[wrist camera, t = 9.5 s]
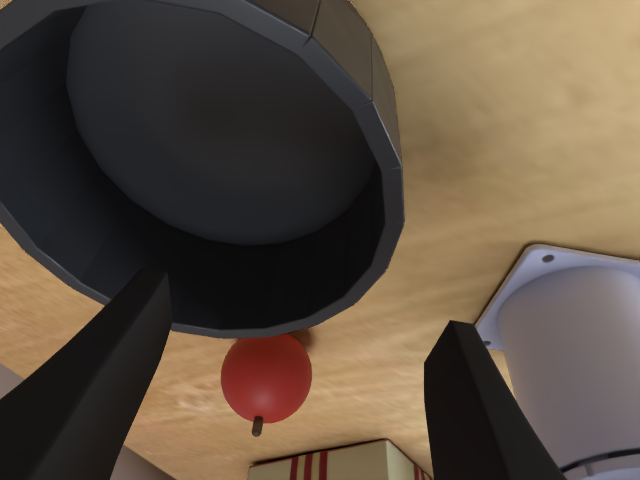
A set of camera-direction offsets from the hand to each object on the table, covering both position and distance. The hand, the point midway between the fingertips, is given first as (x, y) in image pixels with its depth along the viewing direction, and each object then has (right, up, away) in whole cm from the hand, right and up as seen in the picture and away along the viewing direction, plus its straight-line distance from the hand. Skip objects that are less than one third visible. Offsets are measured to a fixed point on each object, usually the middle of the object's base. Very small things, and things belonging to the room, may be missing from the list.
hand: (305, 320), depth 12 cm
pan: (-3, +7, +6) cm, 10 cm away
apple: (-3, -6, +14) cm, 15 cm away
